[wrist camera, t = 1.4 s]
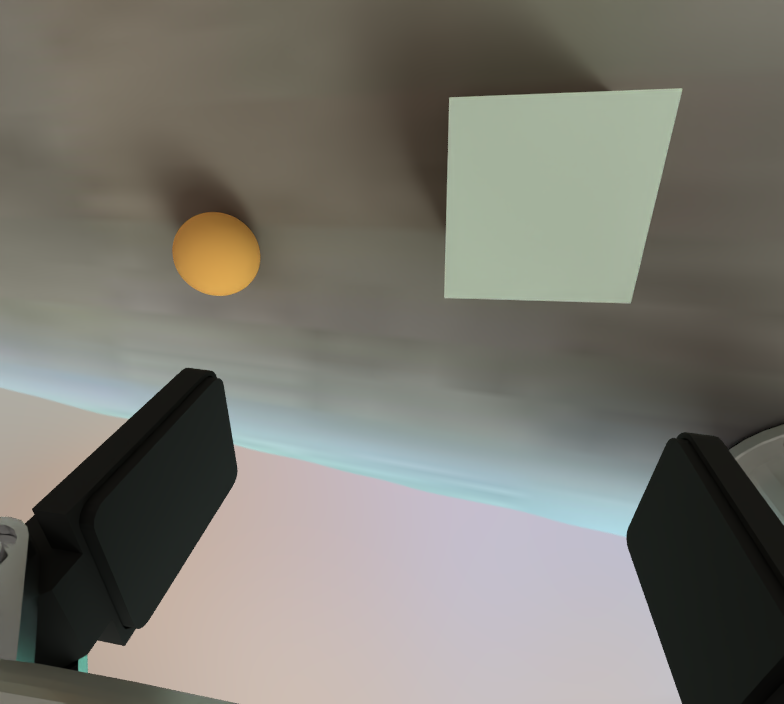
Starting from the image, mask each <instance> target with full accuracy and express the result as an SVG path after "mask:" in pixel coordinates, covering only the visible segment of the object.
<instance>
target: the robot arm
mask: <svg viewBox="0 0 784 704" xmlns="http://www.w3.org/2000/svg"><path fill="white" fill-rule="evenodd" d="M236 477H237V463H236V457H235V451H234V445H233V439H232V433H231V427H230V421H229V415H228V409H227V403H226V397H225V391H224V385H223V381H222V380H221V379H219V378H217V377H216V374H215V373H214V372H213V371H209V370H201V369H193V368H185V369H183V370H182V371H181V372H180V373H179V374H178V375H176V376H175V377H174V378H173V379H172V380H171V381H170V382H169V383H168V384H167V385H166V386H165V387H163V388H162V389H161V390H160V391H159V392H158V393H157V394H156V395H155V396H154V397H153V398H152V399H150V400H149V401H148V402H147V403H146V404H145V405H144V406H143V407H142V408H141V409H140V410H139V411H138V412H136V413H135V414H134V415H133V416H132V417H131V418H130V419H129V420H128V421H127V422H126V423H125V424H123V425H122V426H121V427H120V428H119V429H118V430H117V431H116V432H115V433H114V434H113V435H112V436H110V437H109V438H108V439H107V440H106V441H105V442H104V443H103V444H102V445H101V446H100V447H99V448H97V449H96V451H94V452H93V453H92V454H91V455H90V456H89V457H88V458H87V459H86V460H84V461H83V462H82V463H81V464H80V465H79V466H78V467H77V468H76V469H75V470H74V471H73V472H72V473H71V474H69V475H68V476H67V477H66V478H65V479H64V480H63V481H62V482H61V483H60V484H59V485H57V486H56V488H54V489H53V490H52V491H51V492H50V493H49V494H48V495H47V496H46V497H44V498H43V499H42V500H41V501H40V502H39V503H38V504H37V505H36V506H35V507H34V508H33V509H32V510H33V512H34V514H35V515H34V516H33V517H32V518H31V519H30V520H28V521H27V522H26V523H25V524H24V523H23V522H22V521H21V520H19V519H16V518H12V517H0V704H237V703H232V702H228V701H223V700H218V699H213V698H209V697H204V696H199V695H194V694H190V693H185V692H180V691H175V690H171V689H166V688H160V687H156V686H152V685H147V684H142V683H137V682H133V681H127V680H122V679H117V678H111V677H106V676H101V675H96V674H90V673H88V663H87V662H88V659H87V654H88V653H89V651H90V650H91V649H92V647H93V646H94V644H95V643H96V641H97V640H98V641H103V642H108V643H113V644H118V645H122V646H125V645H126V643H127V642H128V640H129V638H130V637H131V635H132V634H133V632H134V631H135V629H140V628H142V627H143V626H144V625H145V624H146V623H147V622H148V620H149V619H150V618H151V616H152V615H153V613H154V611H155V610H156V608H157V606H158V605H159V603H160V602H161V600H162V598H163V597H164V595H165V594H166V592H167V590H168V589H169V587H170V586H171V584H172V582H173V581H174V579H175V578H176V576H177V574H178V573H179V571H180V570H181V568H182V566H183V565H184V563H185V562H186V560H187V558H188V557H189V555H190V554H191V552H192V550H193V549H194V547H195V545H196V544H197V542H198V541H199V539H200V537H201V536H202V534H203V533H204V531H205V530H206V528H207V526H208V525H209V523H210V522H211V520H212V518H213V516H214V515H215V514H216V512H217V510H218V509H219V507H220V506H221V504H222V502H223V501H224V499H225V498H226V496H227V494H228V493H229V491H230V490H231V488H232V486H233V484H234V483H235V480H236ZM627 546H628V549H629V552H630V555H631V558H632V561H633V564H634V567H635V569H636V572H637V575H638V578H639V581H640V584H641V587H642V590H643V592H644V595H645V598H646V601H647V603H648V606H649V610H650V613H651V615H652V618H653V621H654V624H655V627H656V630H657V632H658V636H659V638H660V641H661V644H662V647H663V650H664V653H665V655H666V658H667V662H668V664H669V667H670V670H671V673H672V676H673V679H674V682H675V684H676V687H677V690H678V693H679V696H680V699H681V701H682V704H784V424H783V425H780V426H777V427H774V428H771V429H768V430H765V431H762V432H760V433H758V434H756V435H754V436H752V437H750V438H747V439H745V440H744V441H742V442H741V443H739V444H738V445H736V446H734V447H733V448H731V449H730V450H728V449H727V447H726V446H725V445H724V443H723V442H722V441H721V440H720V439H719V438H718V437H715V436H710V435H702V434H694V433H686V432H685V433H681V434H680V435H679V436H678V437H677V439H676V438H672V439H670V440H669V441H668V442H667V444H666V446H665V448H664V450H663V453H662V455H661V457H660V459H659V461H658V464H657V466H656V468H655V470H654V472H653V475H652V477H651V479H650V481H649V483H648V486H647V488H646V490H645V492H644V494H643V497H642V499H641V501H640V503H639V505H638V508H637V510H636V512H635V514H634V516H633V519H632V521H631V523H630V525H629V527H628V530H627Z"/></svg>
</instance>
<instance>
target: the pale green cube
mask: <svg viewBox="0 0 784 704" xmlns="http://www.w3.org/2000/svg"><path fill="white" fill-rule="evenodd" d="M682 89H683V88H677V89H652V90H626V91H600V92H575V93H549V94H523V95H498V96H472V97H449V130H448V169H447V209H446V248H445V288H444V298H463V299H498V300H532V301H566V302H600V303H631V300H632V296H633V292H634V288H635V284H636V280H637V275H638V271H639V267H640V263H641V259H642V255H643V251H644V246H645V242H646V238H647V234H648V230H649V226H650V222H651V217H652V213H653V209H654V205H655V201H656V197H657V193H658V188H659V184H660V180H661V176H662V172H663V168H664V163H665V159H666V155H667V151H668V147H669V143H670V139H671V134H672V130H673V126H674V122H675V118H676V114H677V110H678V105H679V101H680V97H681V93H682Z"/></svg>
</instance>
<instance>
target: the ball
mask: <svg viewBox="0 0 784 704" xmlns="http://www.w3.org/2000/svg"><path fill="white" fill-rule="evenodd" d="M172 252H173V260H174V263H175V266H176V268H177V271H178V272H179V274H180V275H181V277H182V278H183V279H184V280H185V281H186V282H187V283H188V284H189V285H190V286H191V287H193V288H194V289H196V290H198V291H200V292H202V293H205V294H209V295H215V296H225V295H231V294H234V293H237V292H239V291H241V290H242V289H244V288H245V287H247V286H248V285H249V284H250V283H251V282H252V280H253V279H254V278H255V276H256V274H257V272H258V269H259V265H260V249H259V245H258V242H257V240H256V238H255V236H254V234H253V233H252V231H251V230H250V229H249V228H248V227H247V226H246V225H245V224H244V223H243V222H241V221H240V220H238V219H237V218H235V217H233V216H231V215H228V214H224V213H220V212H206V213H202V214H198V215H196V216H194V217H192V218H190V219H189V220H187V221H186V222H185V223H184V224H183V225H182V226H181V227H180V229H179V230H178V232H177V234H176V235H175V238H174V242H173V249H172Z"/></svg>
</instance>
